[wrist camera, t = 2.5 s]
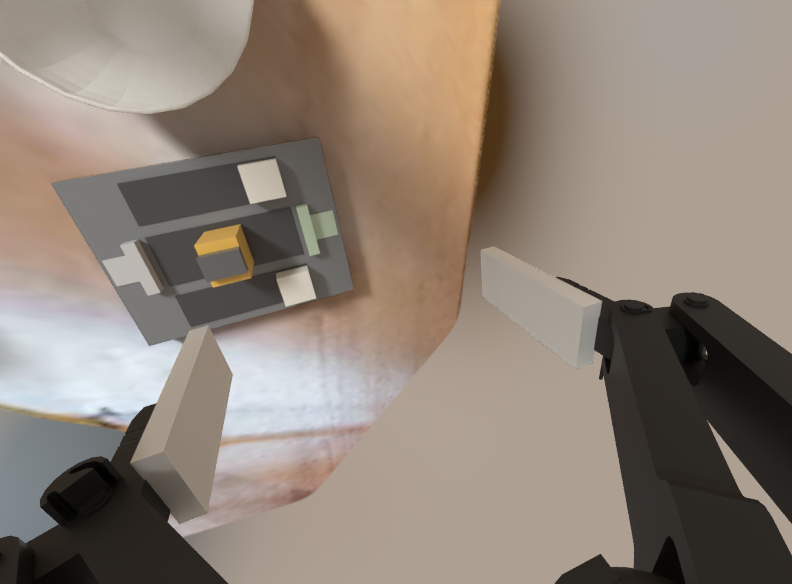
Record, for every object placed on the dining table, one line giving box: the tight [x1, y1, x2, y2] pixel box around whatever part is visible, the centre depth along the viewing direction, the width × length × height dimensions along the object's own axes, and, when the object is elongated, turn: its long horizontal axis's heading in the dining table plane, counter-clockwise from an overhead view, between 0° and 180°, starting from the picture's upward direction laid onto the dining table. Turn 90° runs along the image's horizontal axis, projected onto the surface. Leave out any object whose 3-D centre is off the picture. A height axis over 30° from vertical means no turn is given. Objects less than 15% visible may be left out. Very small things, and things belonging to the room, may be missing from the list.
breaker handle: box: [194, 224, 254, 288], centre depth 28 cm, size 3×4×5 cm
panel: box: [51, 137, 354, 346], centre depth 31 cm, size 20×15×4 cm
